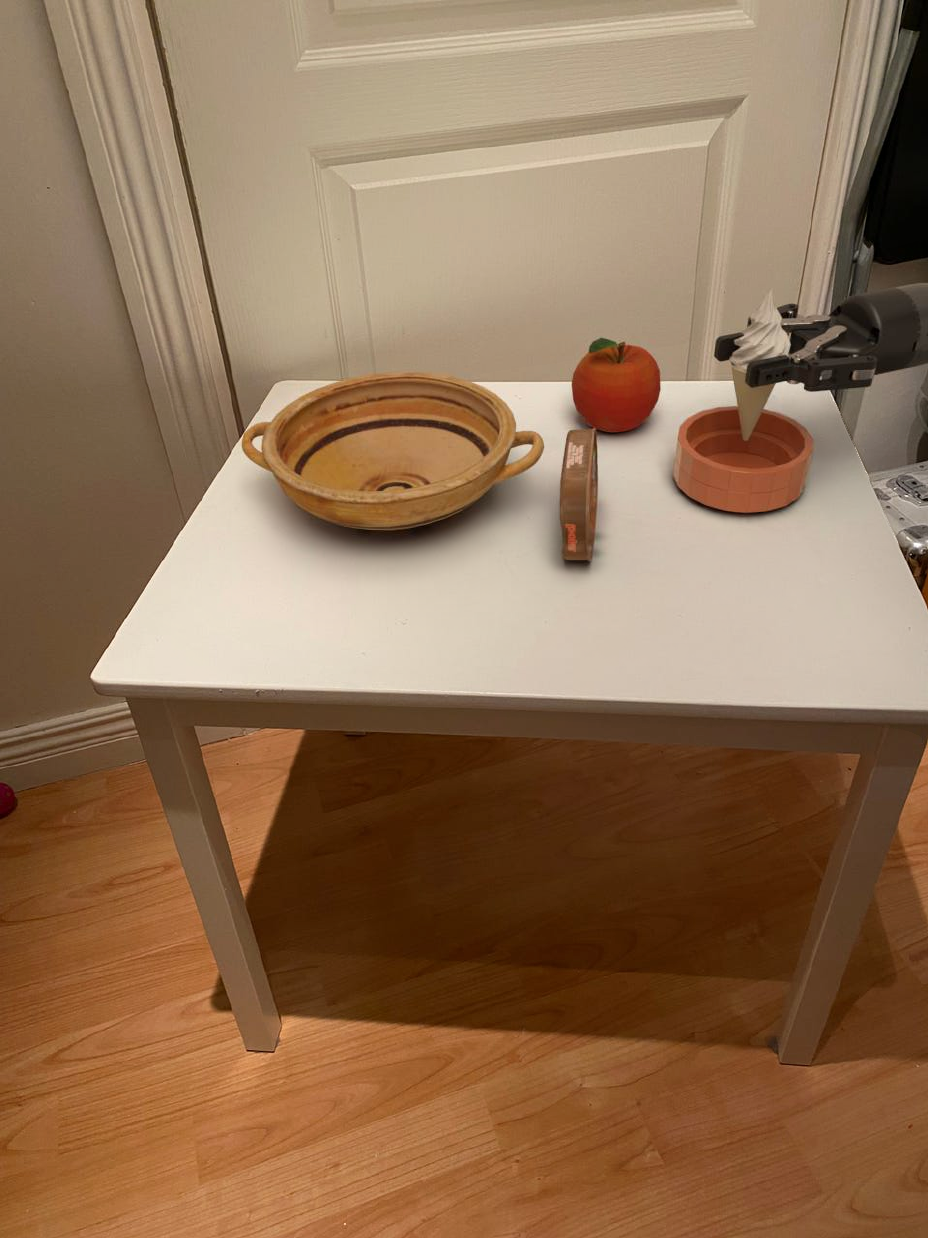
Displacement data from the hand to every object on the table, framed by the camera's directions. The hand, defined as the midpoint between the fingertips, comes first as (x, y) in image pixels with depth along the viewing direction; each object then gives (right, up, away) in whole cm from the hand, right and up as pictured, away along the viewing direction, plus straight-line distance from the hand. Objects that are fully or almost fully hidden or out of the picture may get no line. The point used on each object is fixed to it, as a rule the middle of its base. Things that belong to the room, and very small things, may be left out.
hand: (732, 362), depth 84 cm
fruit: (-8, -2, +19) cm, 21 cm away
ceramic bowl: (-31, -11, +10) cm, 34 cm away
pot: (+3, -9, +9) cm, 14 cm away
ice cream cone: (+3, -6, +6) cm, 9 cm away
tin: (-13, -15, +4) cm, 21 cm away
